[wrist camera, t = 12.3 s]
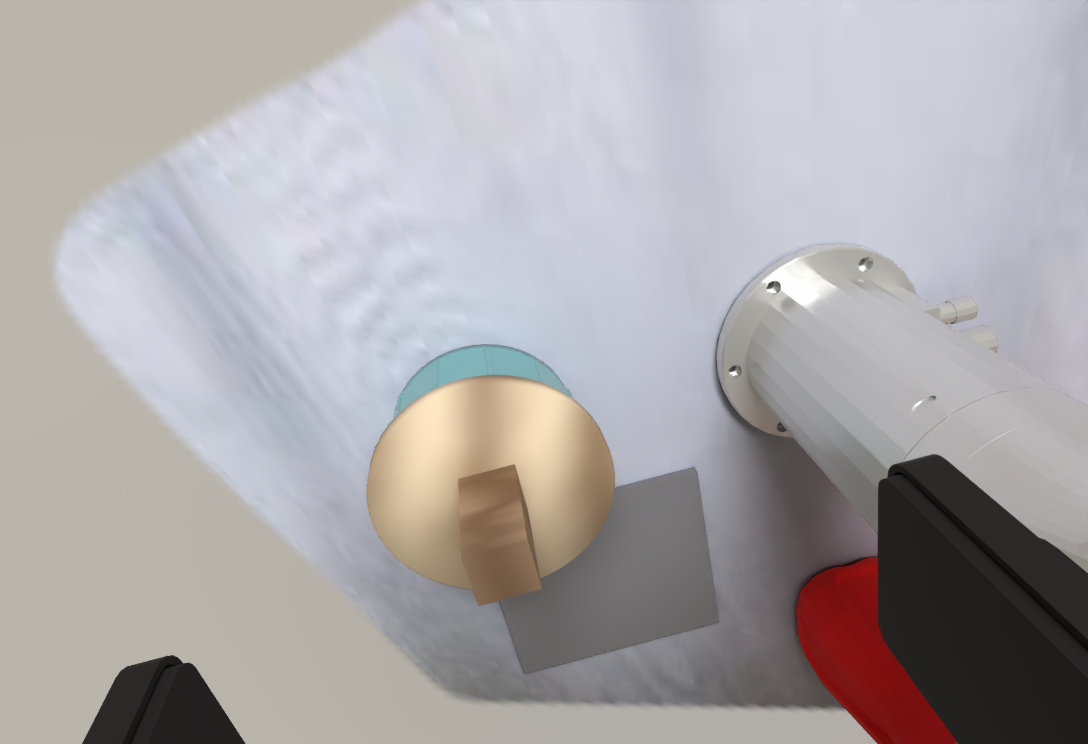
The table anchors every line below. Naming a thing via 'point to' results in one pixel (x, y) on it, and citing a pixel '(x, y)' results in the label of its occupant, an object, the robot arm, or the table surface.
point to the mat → (623, 579)
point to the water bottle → (862, 657)
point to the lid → (490, 484)
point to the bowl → (476, 370)
